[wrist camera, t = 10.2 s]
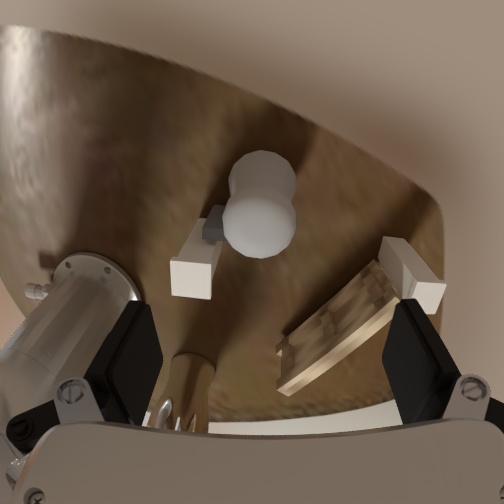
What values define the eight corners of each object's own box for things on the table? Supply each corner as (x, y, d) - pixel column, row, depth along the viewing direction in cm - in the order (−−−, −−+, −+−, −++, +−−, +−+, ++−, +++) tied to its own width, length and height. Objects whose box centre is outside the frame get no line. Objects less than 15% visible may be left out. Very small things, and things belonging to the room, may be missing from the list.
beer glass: (195, 342, 39) (168, 444, 25) (229, 375, 41) (215, 473, 27) (157, 360, 41) (124, 452, 27) (190, 390, 43) (170, 479, 29)
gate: (372, 257, 31) (395, 296, 25) (382, 267, 32) (405, 306, 25) (276, 343, 37) (276, 390, 30) (286, 350, 37) (288, 396, 31)
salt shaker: (306, 171, 29) (333, 219, 17) (270, 218, 31) (271, 292, 19) (254, 134, 28) (243, 156, 16) (219, 184, 30) (187, 241, 18)
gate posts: (196, 243, 33) (171, 295, 24) (197, 202, 31) (169, 243, 22) (399, 261, 32) (435, 313, 24) (409, 225, 31) (452, 269, 22)
